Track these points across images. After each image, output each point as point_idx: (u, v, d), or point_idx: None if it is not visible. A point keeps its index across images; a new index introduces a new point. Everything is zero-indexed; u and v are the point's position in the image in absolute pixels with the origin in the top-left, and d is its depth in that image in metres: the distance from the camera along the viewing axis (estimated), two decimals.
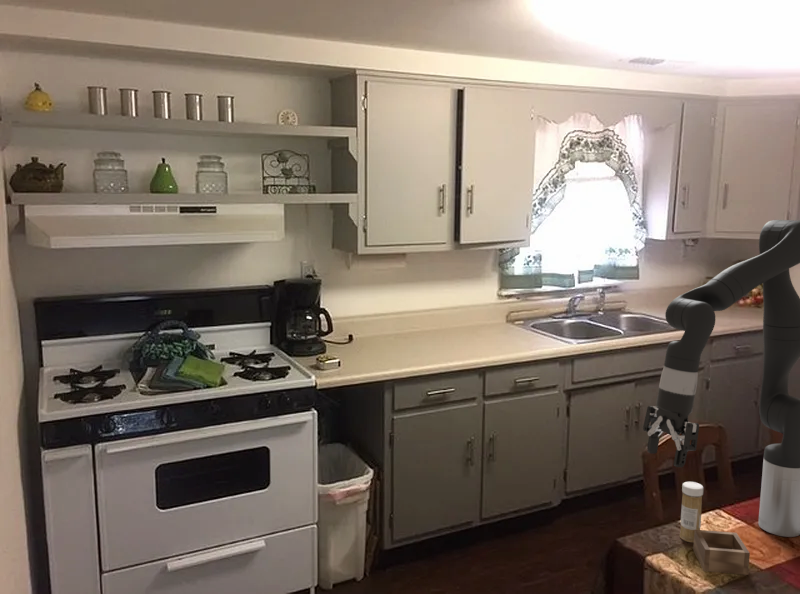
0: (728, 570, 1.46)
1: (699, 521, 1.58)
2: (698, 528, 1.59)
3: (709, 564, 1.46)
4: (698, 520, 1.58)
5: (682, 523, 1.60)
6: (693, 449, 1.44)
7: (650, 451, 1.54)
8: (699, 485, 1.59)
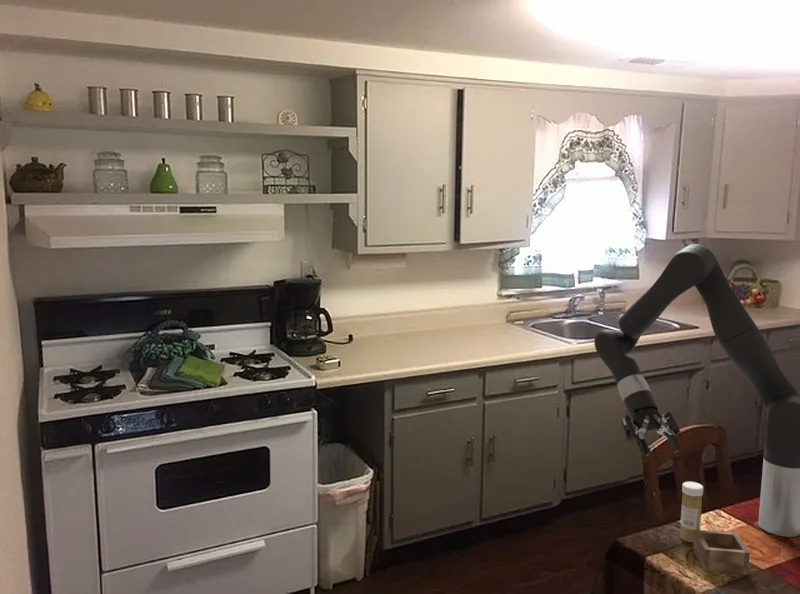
0: (728, 570, 1.46)
1: (699, 521, 1.58)
2: (698, 528, 1.59)
3: (709, 564, 1.46)
4: (698, 520, 1.58)
5: (682, 523, 1.60)
6: (631, 437, 1.69)
7: (672, 451, 1.71)
8: (699, 485, 1.59)
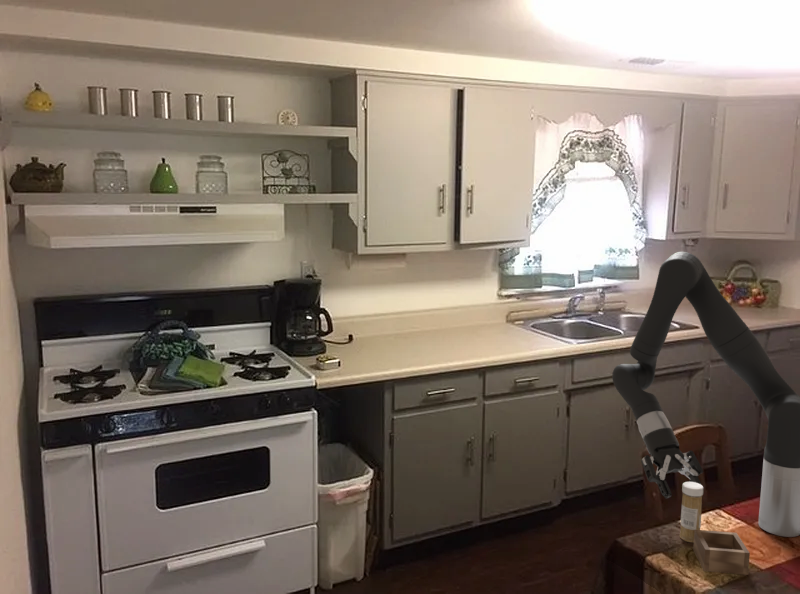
0: (728, 570, 1.46)
1: (699, 521, 1.58)
2: (698, 528, 1.59)
3: (709, 564, 1.46)
4: (698, 520, 1.58)
5: (682, 523, 1.60)
6: (651, 477, 1.63)
7: None
8: (699, 485, 1.59)
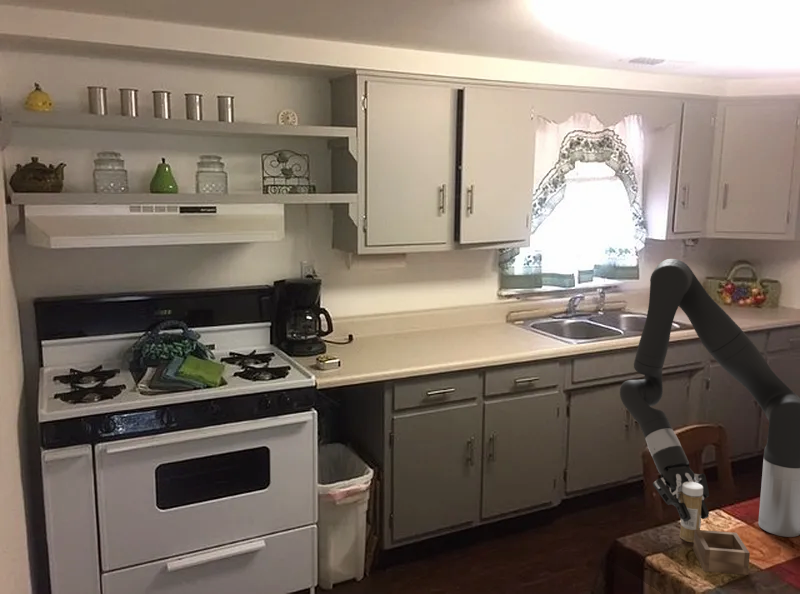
0: (728, 570, 1.46)
1: (699, 521, 1.58)
2: (698, 528, 1.59)
3: (709, 564, 1.46)
4: (698, 520, 1.58)
5: (682, 523, 1.60)
6: (670, 501, 1.59)
7: (701, 517, 1.60)
8: (699, 485, 1.59)
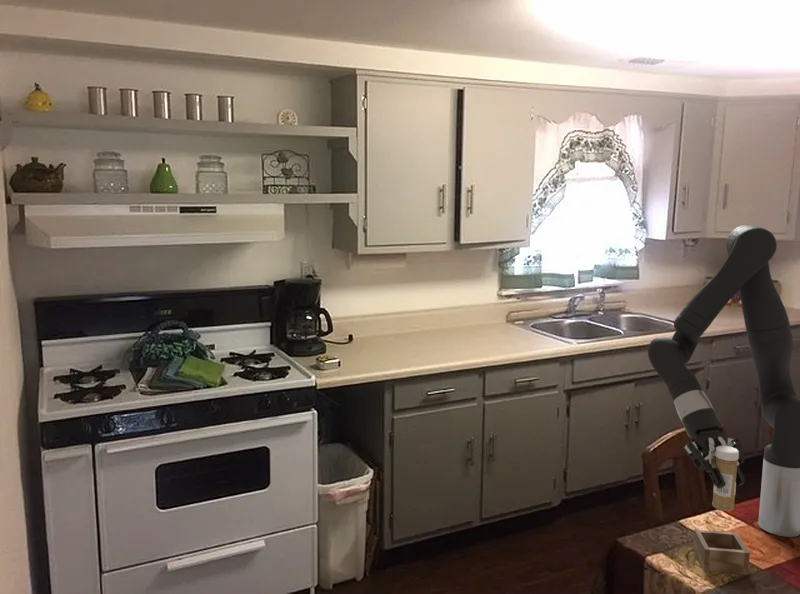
0: (728, 570, 1.46)
1: (734, 488, 1.46)
2: (733, 495, 1.47)
3: (709, 564, 1.46)
4: (733, 487, 1.46)
5: (715, 490, 1.48)
6: (703, 466, 1.47)
7: (736, 484, 1.48)
8: (734, 449, 1.47)
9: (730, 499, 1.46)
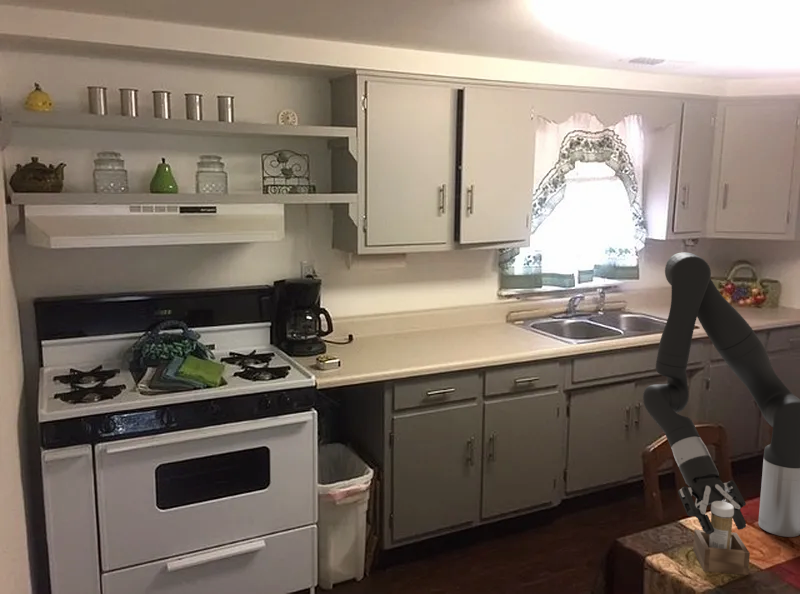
0: (728, 570, 1.46)
1: (729, 543, 1.48)
2: None
3: (709, 564, 1.46)
4: (728, 542, 1.48)
5: (711, 545, 1.50)
6: (691, 511, 1.49)
7: (738, 527, 1.50)
8: (729, 505, 1.48)
9: None
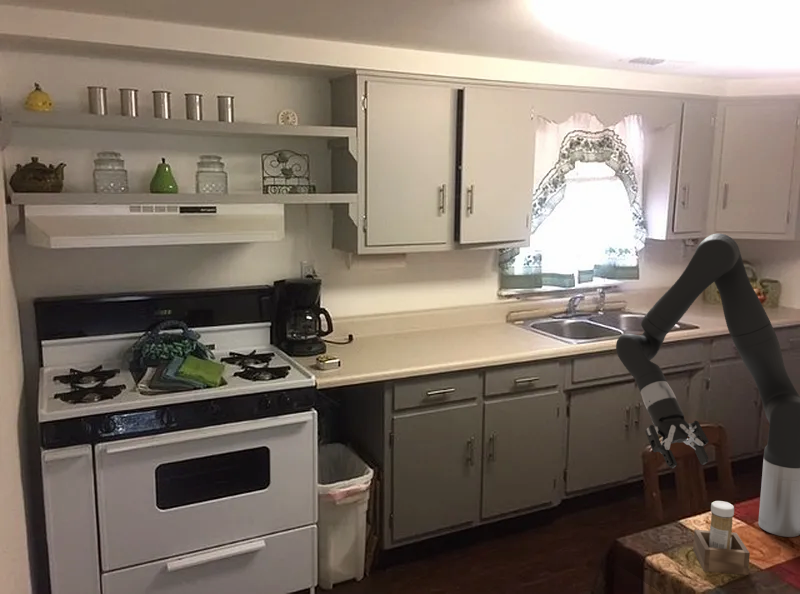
0: (728, 570, 1.46)
1: (729, 543, 1.48)
2: None
3: (709, 564, 1.46)
4: (728, 542, 1.48)
5: (711, 545, 1.50)
6: (656, 447, 1.59)
7: (701, 462, 1.61)
8: (729, 505, 1.49)
9: None
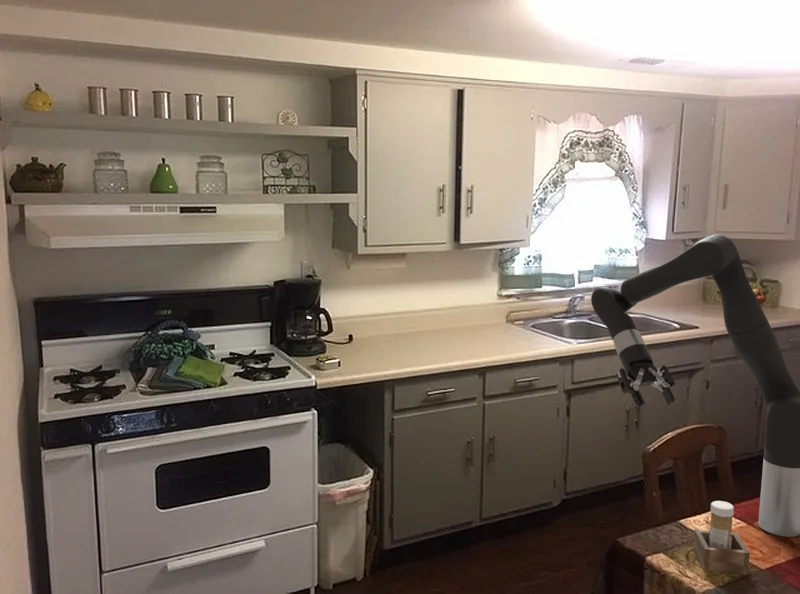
0: (728, 570, 1.46)
1: (729, 543, 1.48)
2: None
3: (709, 564, 1.46)
4: (728, 542, 1.48)
5: (711, 545, 1.50)
6: (625, 388, 1.71)
7: (667, 403, 1.72)
8: (729, 505, 1.49)
9: None
